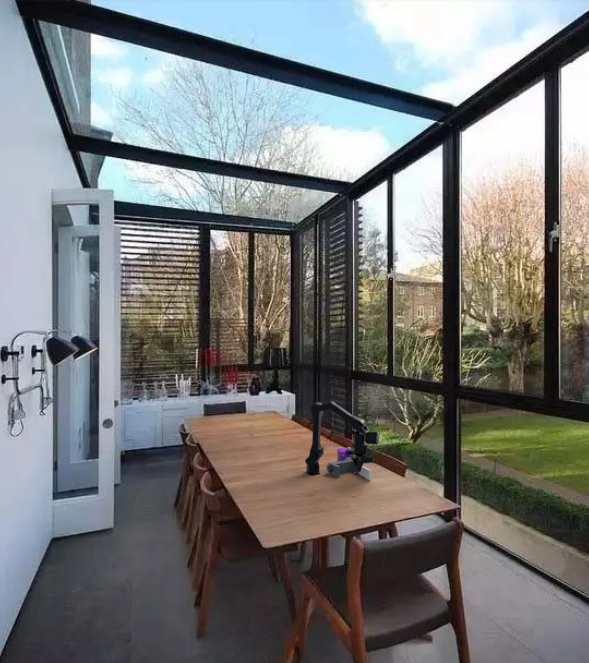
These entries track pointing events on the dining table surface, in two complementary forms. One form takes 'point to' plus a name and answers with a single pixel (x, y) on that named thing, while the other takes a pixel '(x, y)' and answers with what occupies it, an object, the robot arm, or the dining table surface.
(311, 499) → the dining table surface
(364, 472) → the side door
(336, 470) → the grey hollow rectangular block
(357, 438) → the robot arm
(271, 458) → the dining table surface
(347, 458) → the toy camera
